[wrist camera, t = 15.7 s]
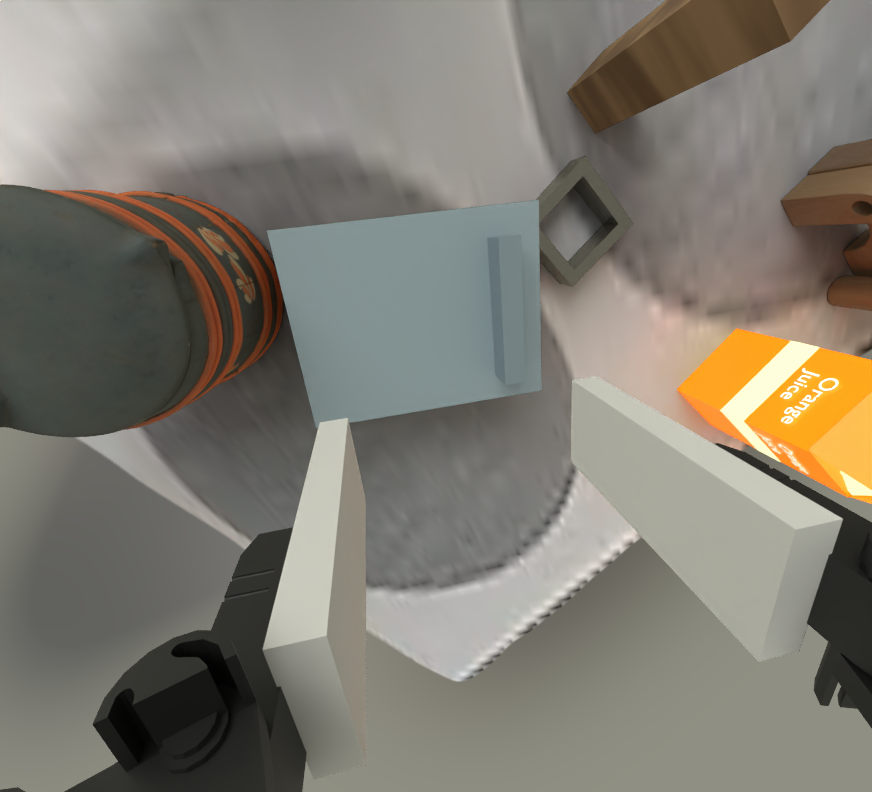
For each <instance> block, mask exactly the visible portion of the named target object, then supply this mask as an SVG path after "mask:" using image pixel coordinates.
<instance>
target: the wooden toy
mask: <svg viewBox="0 0 872 792" xmlns="http://www.w3.org/2000/svg"><path fill="white" fill-rule="evenodd" d="M808 174H809V175H807V176H806V177H805V178H804V179H803V180H802V181H801V182H800V183H799V184H798V185H797V186H796V187H795V188H793V189H792V190H791V191H790V192H789V193H788V194H787V195H786V196H785V197H784V198H783V199H782V200H781V202H782V204H783V206H784V208H785V210H786V212H787V214H788V216H789V219H790V221H791V223H792V224H793V226H810V225H838V224H865V223H867V224H868V226H869V229H868V230H866V231H865V232H864V233H863V234H862V235H861V236H860V237H859V238H857V239H856V240H855V241H854V242H853V243H852V244H851V245H850V246H849V247H847V248H846V249H845V250H844V255H845V257H846V259H847V261H848V263H849V266H850V268H851V270H852V272H853V275H855V276H851V275H847V276H843V277H840V278H838V279H837V280H835V281H834V282H833V283H832V285H831V286H830V288H829V290H828V294H827V298H828V301H829V302H830V303H831V304H832V305H835V306H840V307H848V308H855V309H862V310H870V311H872V139H870V140H865V141H860V142H855V143H850V144H845V145H840V146H836V147H834V148H833V149H832V150H831V151H829V152H828V153H827V154H826V155H825V156H824V157H823V158H822V159H821V160H820V161H819V162H818V163H817V164H816V165H815V166H814V167H813V168H811V169H810V170H809V172H808Z"/></svg>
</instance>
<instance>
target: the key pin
mask: <svg viewBox="0 0 872 792" xmlns="http://www.w3.org/2000/svg"><path fill="white" fill-rule="evenodd" d="M829 1H830V0H666V1H665V2H664V3H662V4H661V5H660V6H659V7H657V8H656V9H655V10H654V11H652V12H651V13H650V14H649V15H647V16H646V17H645V18H644V19H642V20H641V21H640V22H639V23H637V24H636V25H635V26H634V27H632V28H631V29H630V30H629V31H627V32H626V33H625V34H624V35H622V36H621V37H620V38H619V39H617V40H616V41H615V42H614V43H613V44H611V45H610V46H609V47H608V48H606V49H605V50H604V51H603V52H602V53H601V54H600V55H599V57H598V58H597V59H596V60H595V61H594V62H593V63H592V64H591V66H590V67H589V68H588V69H587V70H586V71H585V72H584V74H583V75H582V76H581V77H580V78H579V79H578V80H577V82H576V83H575V84H574V85H573V86H572V87H571V88H570V89H569V91H568V92H567V93H568V94H569V96H570V97H571V99H572V100H573V102H574V103H575V105H576V106H577V107H578V109H579V110H580V112H581V113H582V115H583V116H584V118H585V119H586V121H587V122H588V124H589V125H590V126H591V128H592V129H593V131H594V132H595V133H597V132H599V131H601V130H603V129H606V128H608V127H610V126H612V125H614V124H616V123H618V122H620V121H623V120H625V119H627V118H629V117H631V116H633V115H635V114H637V113H639V112H642V111H644V110H646V109H648V108H650V107H652V106H654V105H656V104H659V103H661V102H663V101H665V100H667V99H669V98H671V97H673V96H675V95H678V94H680V93H682V92H684V91H686V90H688V89H690V88H692V87H695V86H697V85H699V84H701V83H703V82H705V81H707V80H709V79H712V78H714V77H716V76H718V75H720V74H722V73H724V72H726V71H728V70H731V69H733V68H735V67H737V66H739V65H741V64H743V63H745V62H748V61H750V60H752V59H754V58H756V57H758V56H760V55H762V54H764V53H767V52H769V51H771V50H773V49H775V48H777V47H779V46H781V45H784V44H786V43H788V42H790V41H791V40H792V39H793V38H794V37H795V36H796V35H797V34H798V33H799V32H800V31H801V30H802V29H803V28H804V27H805V26H806V25H807V24H808V23H809V22H810V20H811V19H812V18H813V17H814V16H815V15H816V14H817V13H818V12H819V11H820V10H821V9H822V8H823V7H824V6H825V5H826V4H827V3H828V2H829Z"/></svg>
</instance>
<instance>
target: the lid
mask: <svg viewBox="0 0 872 792" xmlns="http://www.w3.org/2000/svg"><path fill="white" fill-rule="evenodd" d="M267 234H268V238H269V242H270V246H271V250H272V254H273V258H274V262H275V266H276V270H277V274H278V278H279V282H280V286H281V290H282V294H283V298H284V302H285V306H286V310H287V314H288V318H289V322H290V326H291V330H292V334H293V338H294V342H295V346H296V350H297V354H298V358H299V362H300V366H301V370H302V374H303V378H304V382H305V386H306V390H307V394H308V398H309V402H310V406H311V410H312V414H313V418H314V422H315V426H316V429H317V428H319V424H320V422H326V421H332V420H338V419H343V418H348V420H349V423H353V422H358V421H364V420H370V419H376V418H382V417H388V416H394V415H400V414H406V413H412V412H418V411H423V410H429V409H435V408H441V407H447V406H453V405H459V404H465V403H471V402H477V401H483V400H488V399H494V398H500V397H506V396H512V395H518V394H524V393H530V392H536V391H541V325H540V255H539V200H532V201H523V202H514V203H506V204H497V205H488V206H479V207H471V208H462V209H453V210H444V211H436V212H427V213H418V214H409V215H401V216H392V217H383V218H374V219H366V220H357V221H348V222H339V223H331V224H322V225H313V226H304V227H296V228H287V229H278V230H269V231H267Z"/></svg>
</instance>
